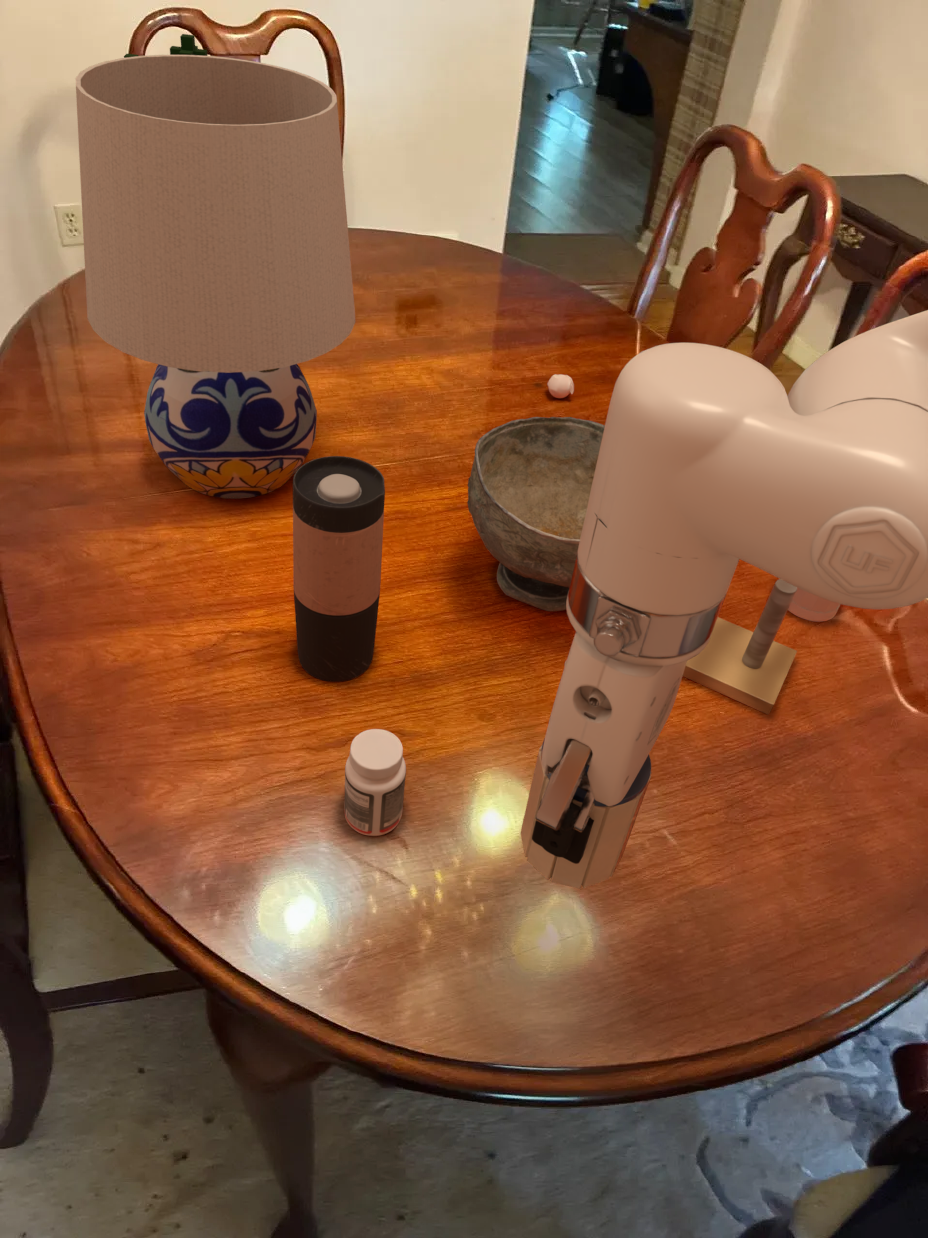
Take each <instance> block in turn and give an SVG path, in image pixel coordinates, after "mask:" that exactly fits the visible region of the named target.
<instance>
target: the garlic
mask: <svg viewBox="0 0 928 1238" xmlns="http://www.w3.org/2000/svg"><path fill="white" fill-rule="evenodd" d="M546 384H547V387H548V392H549V394H550V396H552V397H553V398H556V399H564V398H566V397H568V396H569V394H571V395H573V394H574V392H575V383H574V381H573V378H572V377H571V376H570V375H568V374H563V373H561V374H556V373H555V374H553V375H551V377H550V378H549V380H547V383H546Z"/></svg>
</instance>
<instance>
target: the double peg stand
mask: <svg viewBox="0 0 928 1238" xmlns="http://www.w3.org/2000/svg"><path fill="white" fill-rule="evenodd" d="M796 591H797V587H796V586H793V585H791V584H789V583H787V582H785V581H783V580H781V579H779V578H778V579H777V580H776V581H775V583H774V585H773V587H772V589H771V591H770V594H769V596H768V597H767V601H766V603H765V605H764V608H763V610H762V612H761V615H760V617H759V619H758V621H757V624H756V625H755V628H754V629H753V631H752V630H750V629H747V628H745V627H743V626H740V625H738V624H735V623H733V622H731V621H728V620H726V619H724V618H721V617H719V616H718V618H717V621H716V624H715V626H714V629H713V631H712V634H711V637H710V640H709V642H708V644H707V645H706V647H705V648H704V649H703V650H702V651H701V652H700V653H699V654H698V655H697V656H695V657H693V658H691V659H690V660H687V663H686V666H685V669H684V673H683V676H682V678H686V679H688V680H690V681H692V682H695V683H697V684H699V685H701V686H704V687H705V688H708V689H710V690H711V691H714V692H717V693H720V694H721V695H723V696H726V697H728V698H730V699H732V700H734V701H737V702H738V703H741V704H743V705H745V706H747V707H750V708H752V709H754V710H757V711H759V712H761V713H762V714H763V713H764V714H765V715H768V716H770V714H771V712H772V710H773V708H774V706H775V704H776V701H777V699H778V697H779V694H780V692H781V689H782V687H783V685H784V683H785V681H786V678H787V676H788V674H789V671H790V669H791V667H792V664H793V662H794V660H795V658H796V655H797V653H798V650H796V649H794V648H791V647H790V646H787V645H785V644H782V643H780V642H778V641H775V638H776V636H777V634H778V632H779V630H780V628H781V625H782V623H783V622H784V619H785V616H786V615H787V612H788V608H789V606H790V604H791V602H792V600H793V597H794V595H795V593H796Z"/></svg>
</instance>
